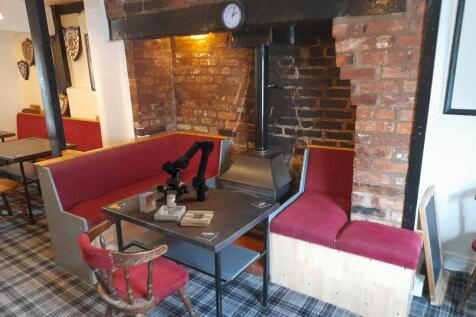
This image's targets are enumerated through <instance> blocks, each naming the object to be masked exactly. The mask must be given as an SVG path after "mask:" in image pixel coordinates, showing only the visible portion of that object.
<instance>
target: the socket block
mask: <svg viewBox="0 0 476 317" xmlns="http://www.w3.org/2000/svg"><path fill="white" fill-rule="evenodd" d="M213 217H214V211H209V210H207V211H206V210H187V211H186V212H185V213H184V215H183V216H182V217H181V219H180V220H179V221H180V226H181V227H183V226H185V227H207V228H208V227H209V225H210V223H211V220H212V219H213Z"/></svg>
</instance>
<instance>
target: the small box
mask: <svg viewBox="0 0 476 317" xmlns="http://www.w3.org/2000/svg"><path fill="white" fill-rule="evenodd" d="M138 198H139V199H138V200H139V208H140V209H139V210H140V212H141V213H147V214H148V213H149V212H152V211H154V210H156V209H157V201H155V193H153V192H150V191H149V190H148V191H147V192H146V191H145V192H143V193H141V194H139V195H138Z"/></svg>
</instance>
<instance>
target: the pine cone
mask: <svg viewBox="0 0 476 317" xmlns="http://www.w3.org/2000/svg"><path fill="white" fill-rule="evenodd" d="M158 185H159V184H155V185H153V186H151V188H150V190H148V191H149V192H153V193H155V201H156V202H157V201H158V200H161V199H162V197H165V195H164V193H159V192H158V191H157V189H156V187H157V186H158ZM138 200H139V197H138Z"/></svg>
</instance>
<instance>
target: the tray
mask: <svg viewBox="0 0 476 317" xmlns="http://www.w3.org/2000/svg"><path fill="white" fill-rule="evenodd" d="M176 210H177V213H176V214H168V208H167V205H165V204H164V205H162V206H160V207H159V209H158V210H157V211H156V212H155V213H154V215H153V218H154V221H157V222H159V221H160V222H179V221H181V220H182V218H183V217H184V216H185V214H186V213H187V211H186V206H185V205H176Z"/></svg>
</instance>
